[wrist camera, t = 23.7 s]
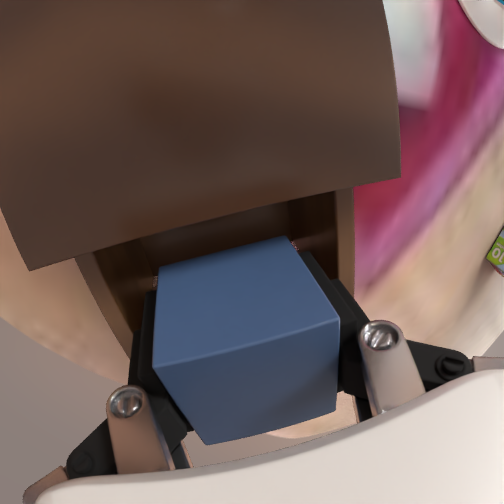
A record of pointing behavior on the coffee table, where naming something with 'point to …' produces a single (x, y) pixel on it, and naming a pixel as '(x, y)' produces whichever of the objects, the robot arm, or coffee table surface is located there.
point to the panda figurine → (486, 19)
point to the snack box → (497, 254)
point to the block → (245, 341)
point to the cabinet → (184, 113)
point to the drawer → (214, 240)
